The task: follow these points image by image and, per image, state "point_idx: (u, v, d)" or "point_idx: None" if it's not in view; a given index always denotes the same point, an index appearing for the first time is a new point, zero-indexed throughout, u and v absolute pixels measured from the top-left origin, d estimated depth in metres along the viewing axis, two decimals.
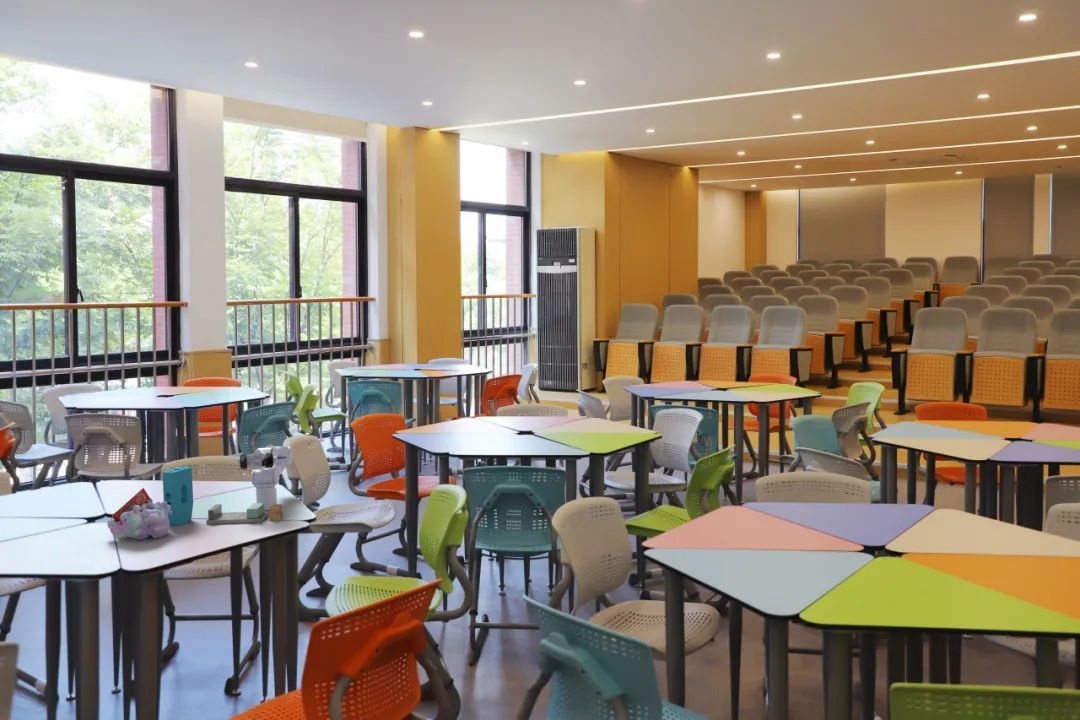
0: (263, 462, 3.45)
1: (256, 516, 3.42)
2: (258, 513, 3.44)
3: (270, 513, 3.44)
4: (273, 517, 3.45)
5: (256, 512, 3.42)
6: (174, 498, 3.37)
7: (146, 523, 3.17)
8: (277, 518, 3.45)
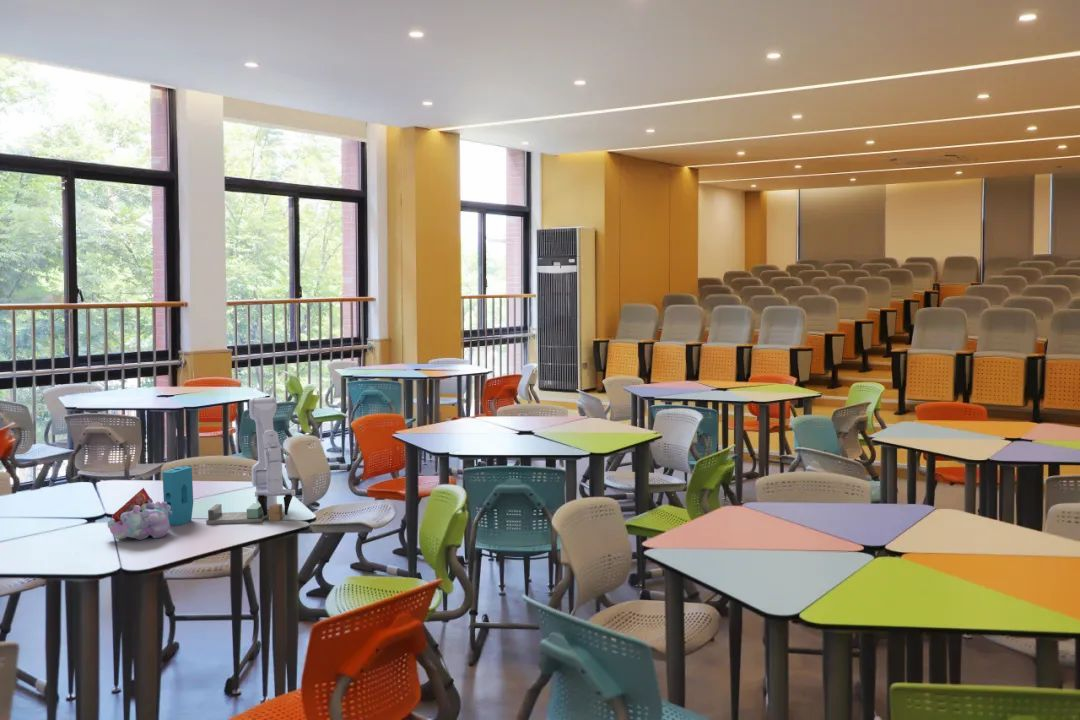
0: (286, 514, 3.47)
1: (256, 516, 3.42)
2: (258, 513, 3.44)
3: (270, 513, 3.44)
4: (273, 517, 3.45)
5: (256, 512, 3.42)
6: (174, 498, 3.37)
7: (146, 523, 3.17)
8: (277, 518, 3.45)
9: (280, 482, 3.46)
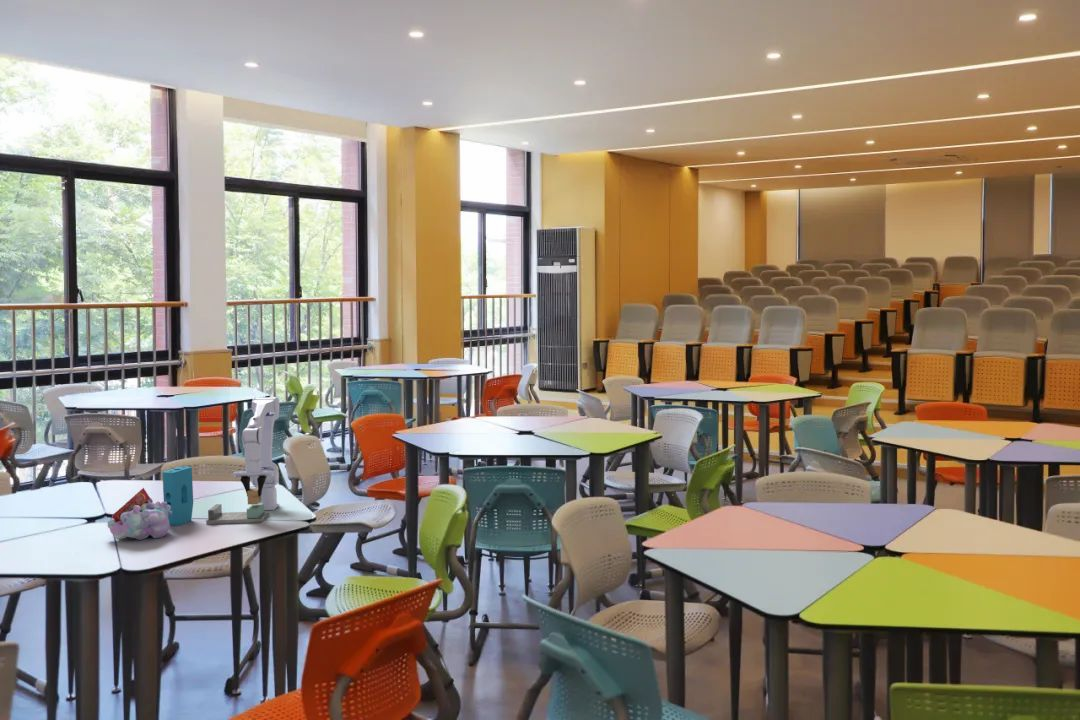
0: (260, 495, 3.47)
1: (256, 516, 3.42)
2: (258, 513, 3.44)
3: (248, 497, 3.43)
4: (252, 501, 3.44)
5: (256, 512, 3.42)
6: (174, 498, 3.37)
7: (146, 523, 3.17)
8: (255, 502, 3.44)
9: (258, 463, 3.45)
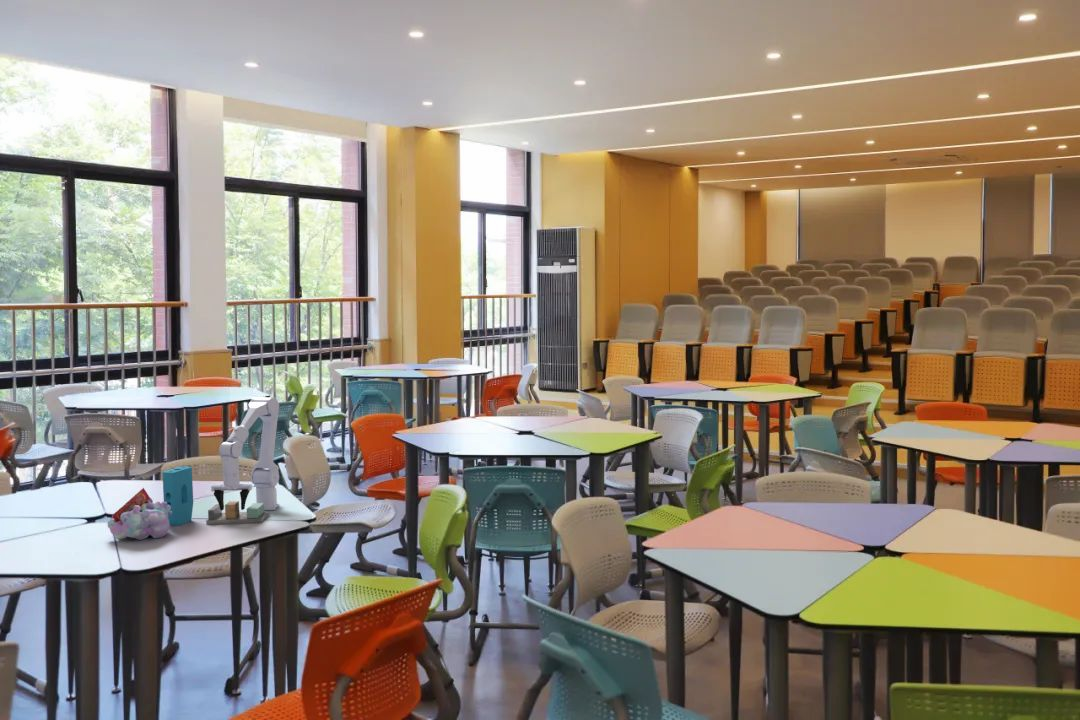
0: (243, 509, 3.47)
1: (256, 516, 3.42)
2: (258, 513, 3.44)
3: (226, 510, 3.43)
4: (229, 514, 3.43)
5: (256, 512, 3.42)
6: (174, 498, 3.37)
7: (146, 523, 3.17)
8: (233, 515, 3.43)
9: (236, 477, 3.45)
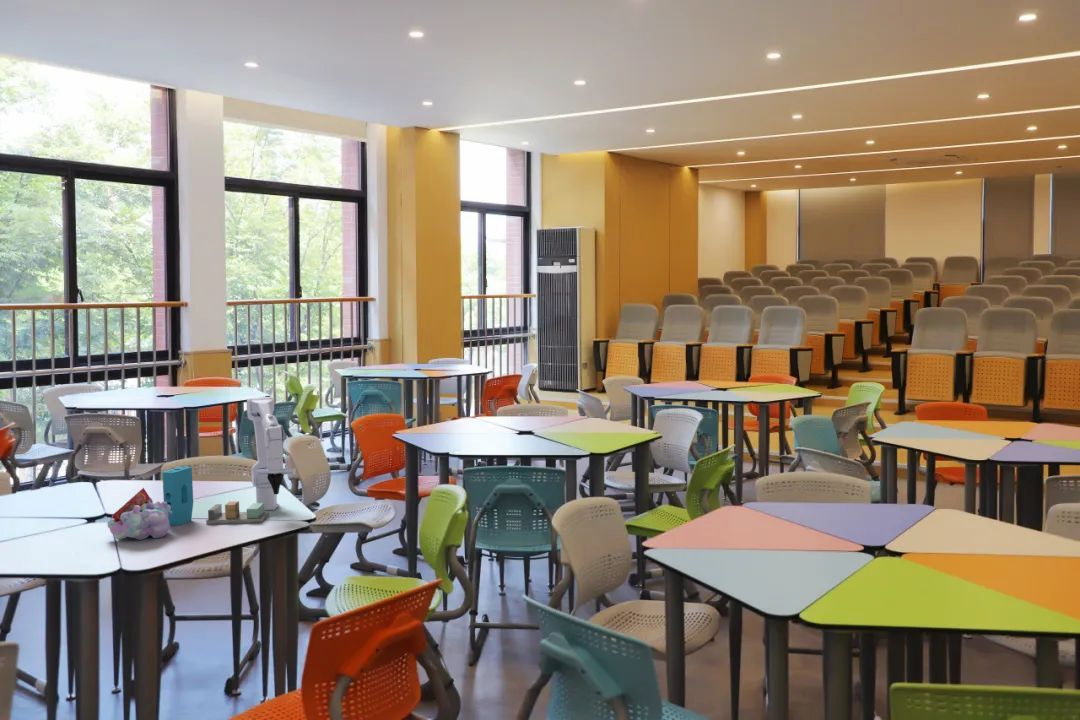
0: (277, 493, 3.47)
1: (256, 516, 3.42)
2: (258, 513, 3.44)
3: (226, 510, 3.43)
4: (229, 514, 3.43)
5: (256, 512, 3.42)
6: (174, 498, 3.37)
7: (146, 523, 3.16)
8: (233, 515, 3.43)
9: (280, 461, 3.45)
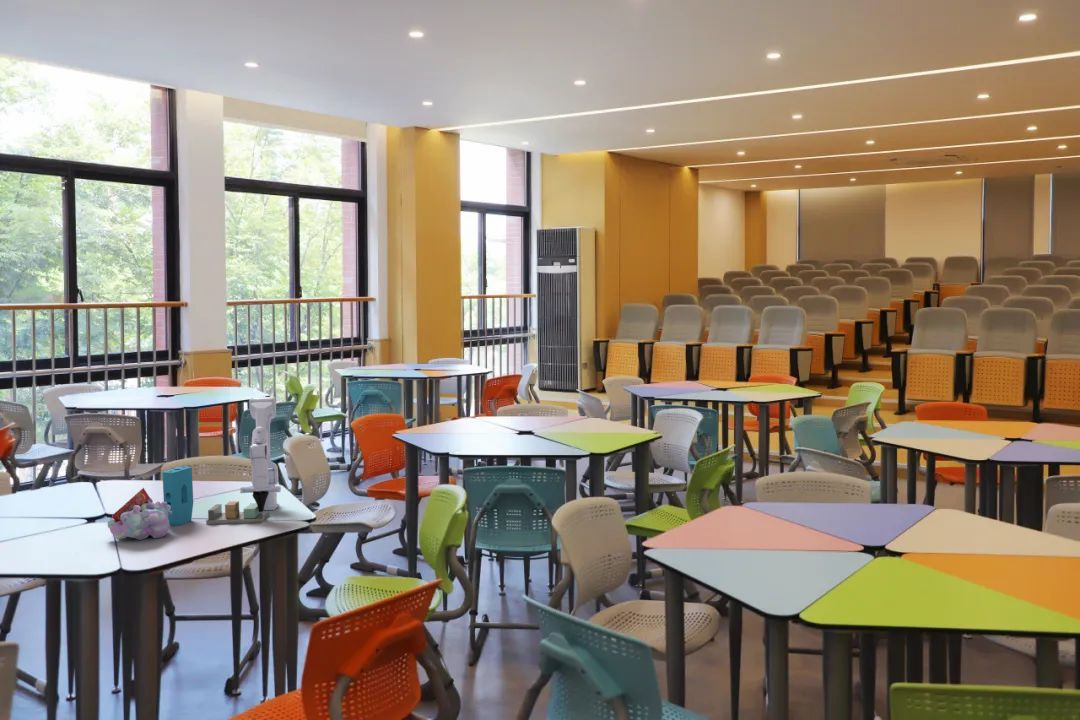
0: (262, 511, 3.47)
1: (253, 516, 3.42)
2: (255, 513, 3.43)
3: (226, 510, 3.43)
4: (229, 514, 3.43)
5: (253, 512, 3.42)
6: (174, 498, 3.37)
7: (146, 523, 3.17)
8: (233, 515, 3.43)
9: (265, 479, 3.45)
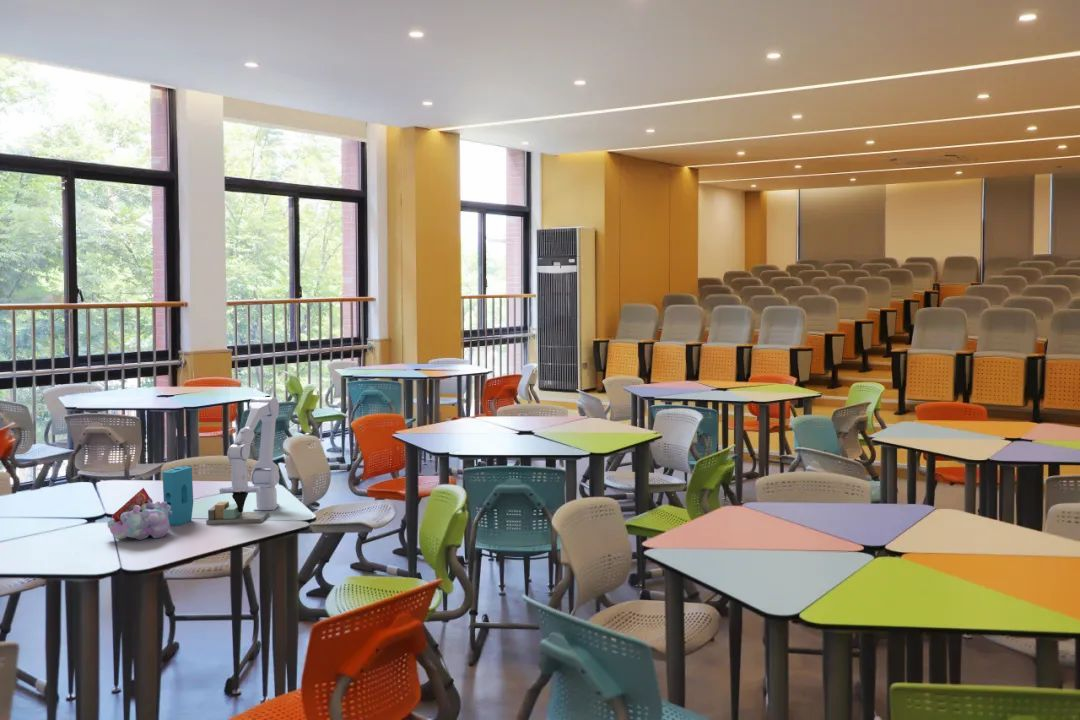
0: (241, 512, 3.47)
1: (233, 517, 3.42)
2: (235, 514, 3.43)
3: (216, 511, 3.43)
4: (219, 515, 3.43)
5: (233, 513, 3.42)
6: (174, 498, 3.37)
7: (146, 523, 3.16)
8: None
9: (245, 479, 3.45)
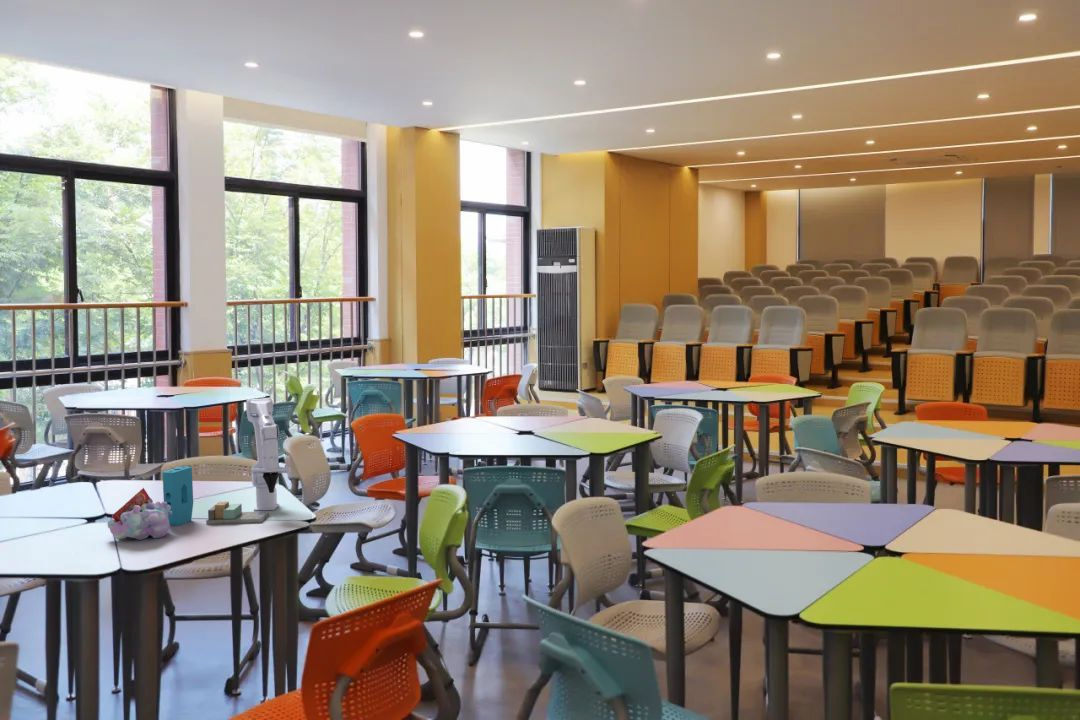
0: (273, 492, 3.50)
1: (233, 517, 3.42)
2: (235, 514, 3.43)
3: (216, 511, 3.43)
4: (219, 515, 3.43)
5: (233, 513, 3.42)
6: (174, 498, 3.37)
7: (146, 523, 3.17)
8: None
9: (276, 460, 3.48)
